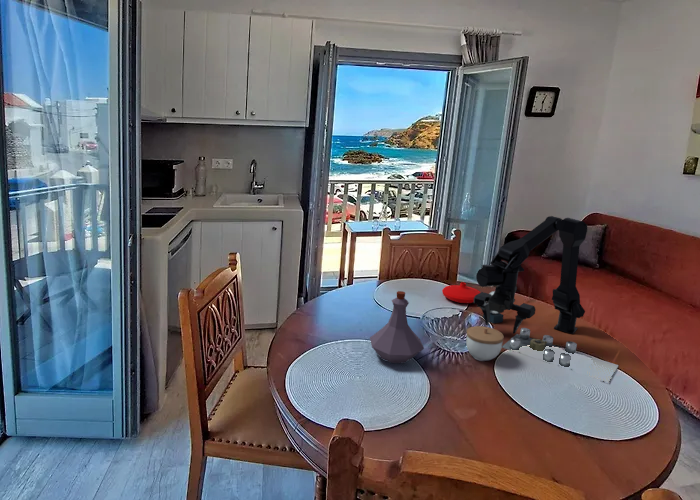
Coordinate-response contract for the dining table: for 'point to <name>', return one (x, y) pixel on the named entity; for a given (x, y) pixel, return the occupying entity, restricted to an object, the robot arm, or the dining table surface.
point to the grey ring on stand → (495, 315)
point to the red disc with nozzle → (460, 293)
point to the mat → (527, 342)
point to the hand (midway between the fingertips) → (500, 329)
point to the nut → (537, 344)
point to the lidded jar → (484, 342)
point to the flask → (397, 335)
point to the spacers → (548, 353)
